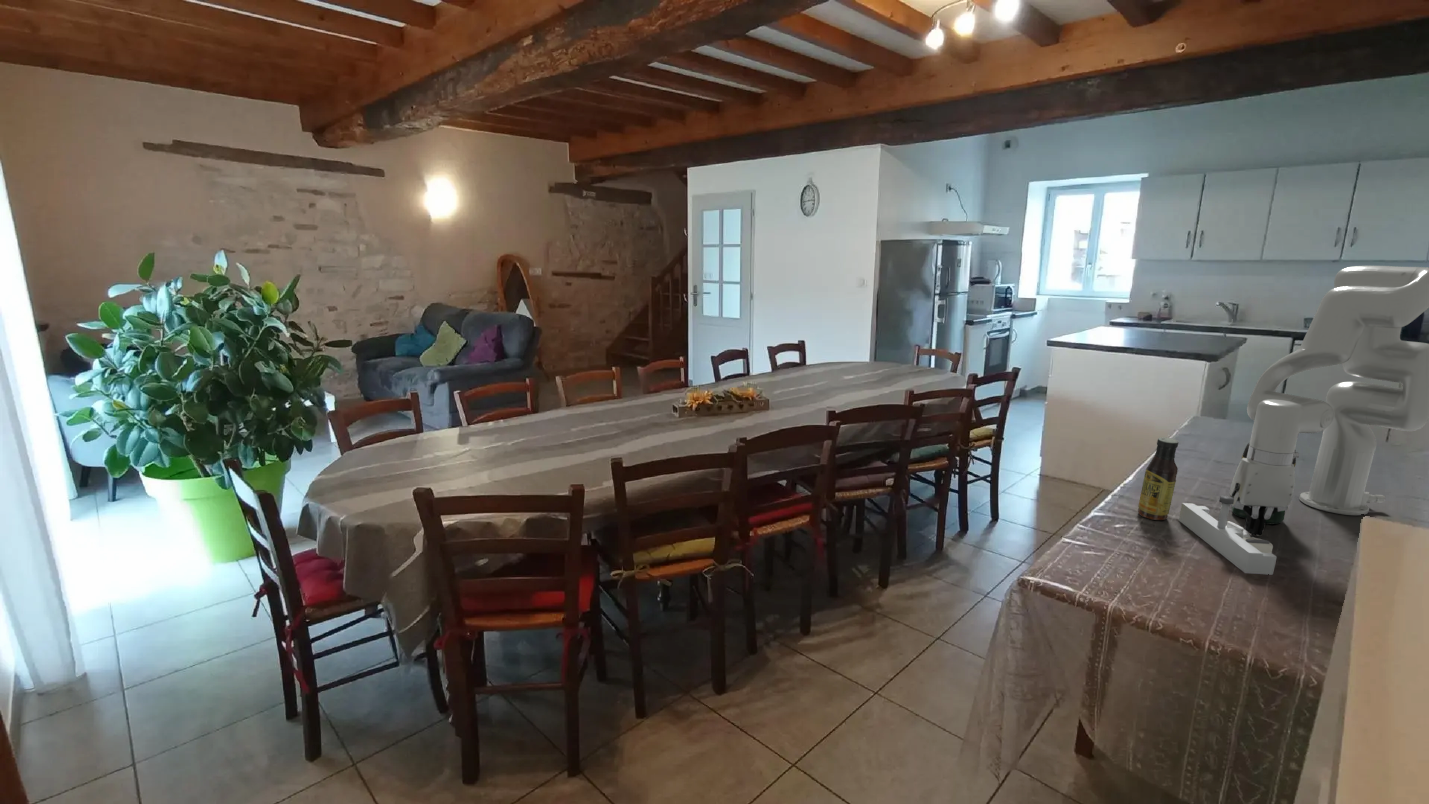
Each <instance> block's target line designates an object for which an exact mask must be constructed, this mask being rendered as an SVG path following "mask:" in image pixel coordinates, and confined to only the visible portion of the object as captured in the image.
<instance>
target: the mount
mask: <svg viewBox="0 0 1429 804" xmlns="http://www.w3.org/2000/svg"><path fill="white" fill-rule="evenodd" d="M1218 501H1219V502H1220V504H1221V506H1220V511H1219V515H1218V520H1217V519H1216V518H1214V516H1212V515H1210V511H1211V510H1210V509H1209V507H1207V506H1205V505H1196V504H1195V503H1189V502H1188V503H1187V502H1182V503H1181V507H1180V511H1179V518H1178V521H1179V522H1180V523H1181V524H1183V525H1184V526H1185V527H1187V528H1188V529H1189V530H1190V531H1191V532H1192V533H1194V534H1195V535H1196V536H1198V537H1200V539H1201V540H1203V541H1204V542H1205V543H1206V544H1208V545H1209V546H1211V547H1212V548H1213V549H1214V550H1215V551H1216V552H1218V553H1219V554H1221V555H1222V556H1223V557H1224V558H1225V559H1227V560H1228V561H1229V562H1230V563H1232V565H1234V566H1235V567H1237V568H1238V569H1239V570H1240V571H1242V572H1243V573H1244V574H1254V575H1268V574H1269V576H1270V575H1271V576H1273V574H1274V570H1275V567H1276V561H1277V556H1276V554H1274V553H1273V552H1272V553H1262V552H1260V551H1259V550H1257V549H1256V548H1255V547H1253V546H1252V545H1250V544H1249V543H1248V542H1246V541H1245V540H1244V539H1242V538H1243V534H1244V533H1242V532H1241V531H1239V530H1238V529H1237V528H1227V527H1226V525H1227V521H1228V517H1229V511H1230V506H1231V504H1233V503H1234V498H1232V497H1230V495H1229V496H1228V495H1220V496H1219V500H1218Z"/></svg>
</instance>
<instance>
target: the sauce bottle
mask: <svg viewBox="0 0 1429 804" xmlns="http://www.w3.org/2000/svg"><path fill="white" fill-rule="evenodd" d="M1178 446H1179V441H1178V440H1177V439H1175V438H1171V437H1158V438H1157V441H1156V449H1155V453H1154V455H1153V457H1152V459H1151V461H1150V462H1149V464H1148V466H1147V467H1146V469H1145V471H1144V472H1145V473H1144V478H1143V482H1142V485H1141V491H1140V497H1139V502H1138V509H1137V512H1138V515H1140V516H1141V517H1143V518H1146V519H1148V520H1150V521H1165V520H1166V519H1168V517H1169V514H1170V509H1171V505H1172V501H1173V500H1172V499H1173V496H1174V490H1175V487H1176V482H1177V475H1178V471H1179V470H1178V469H1179V468H1178V466H1177V464H1176V462H1175V458H1176V455H1175V454H1176V450H1177V448H1178Z"/></svg>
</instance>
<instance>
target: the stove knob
mask: <svg viewBox="0 0 1429 804" xmlns="http://www.w3.org/2000/svg"><path fill="white" fill-rule="evenodd" d="M1226 527H1227V528H1237V529H1238V530H1239V531H1241V532H1242V533H1244V534H1243V538H1244V537H1253V538H1254V535H1252V534H1251V533H1249V532H1248V531H1246V530H1245V527H1243V526H1240V525H1238V524H1237V523H1234V522H1233V521H1229V520H1227V522H1226Z"/></svg>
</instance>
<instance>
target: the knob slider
mask: <svg viewBox="0 0 1429 804" xmlns="http://www.w3.org/2000/svg"><path fill="white" fill-rule="evenodd" d="M1242 539H1244V540H1245V541H1246V542H1248V543H1249V544H1250V545H1252V546H1253V547H1255V548H1256V549H1257V550H1259V551H1260V552H1262V553H1272V554H1273V548H1274V545H1273V544H1272V543H1271V541H1269V540H1268V539H1261V538H1259V537H1258V538H1257V537H1254V536H1253V537H1244V538H1242Z"/></svg>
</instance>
